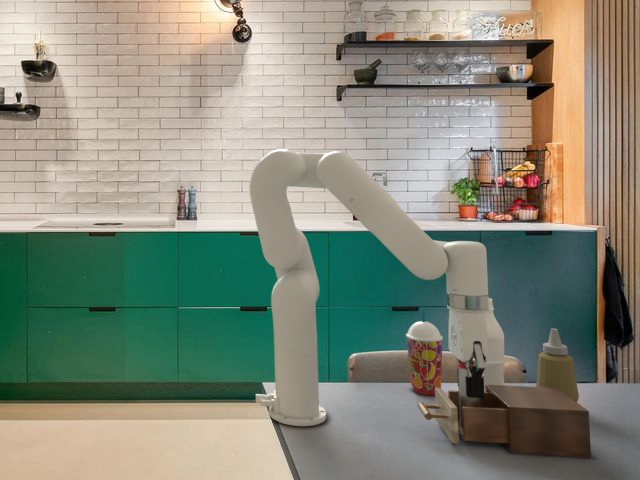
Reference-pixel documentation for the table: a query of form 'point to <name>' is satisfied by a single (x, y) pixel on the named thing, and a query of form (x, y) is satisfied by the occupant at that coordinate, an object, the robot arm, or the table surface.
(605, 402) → the table surface
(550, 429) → the cabinet
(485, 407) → the drawer
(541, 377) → the squeeze bottle
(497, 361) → the water bottle
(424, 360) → the smoothie
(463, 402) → the spice tin
